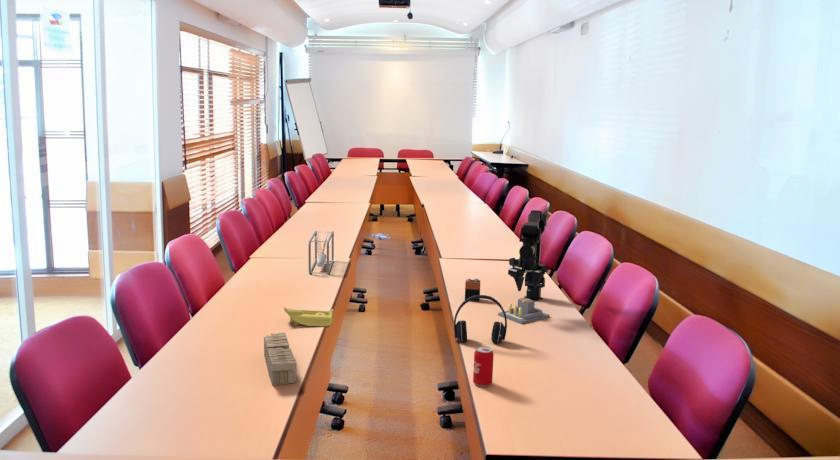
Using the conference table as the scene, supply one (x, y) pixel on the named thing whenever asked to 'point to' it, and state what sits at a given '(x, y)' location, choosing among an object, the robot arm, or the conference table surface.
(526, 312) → the plug
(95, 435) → the conference table surface
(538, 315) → the header socket
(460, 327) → the headphones
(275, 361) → the block tower
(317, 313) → the plastic component
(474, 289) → the battery
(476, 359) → the beverage can
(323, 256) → the newton's cradle
